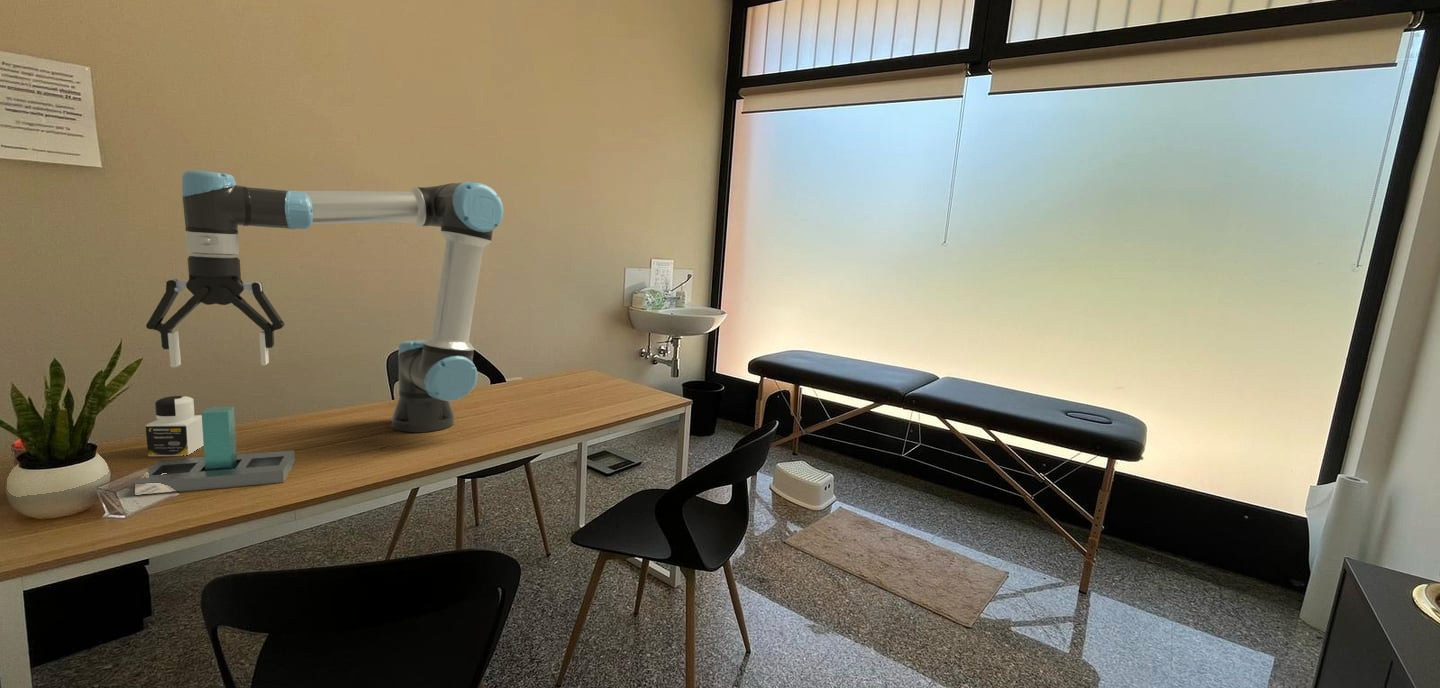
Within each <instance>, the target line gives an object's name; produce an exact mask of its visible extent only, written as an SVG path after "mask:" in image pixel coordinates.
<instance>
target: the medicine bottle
mask: <svg viewBox="0 0 1440 688" xmlns="http://www.w3.org/2000/svg"><path fill="white" fill-rule="evenodd" d="M194 402H195V401H194V398H192V397H191V396H190V397H189V396H185V395H174V396H167V397H166V396H165V397H163V398H160V399H157V400H156V401H155V405H154V406H155V417H156V420H153V421H151V422H149V423H147V424H145V434H146V437H145V438H146V448H147V456H148V457H187V456H186V455H188V456H190V455H191V453H192V454H193V453H195V452H196V450H197V449H198V450H200V449H202V448H203V447H202V446H204V443H203V428H202V414H200V415H199V414H197V415H196V414H195V404H194ZM201 447H202V448H201ZM199 448H200V449H199ZM198 450H197V451H198ZM194 451H195V452H194ZM189 454H190V455H189ZM183 455H184V456H183Z"/></svg>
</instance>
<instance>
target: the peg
mask: <svg viewBox="0 0 1440 688" xmlns="http://www.w3.org/2000/svg"><path fill="white" fill-rule="evenodd" d="M201 415H202V428H203V443H204V447H203V457H204V459H205V471H213V470H226V469H235V468H236V467H237V455H238V453H237V437H236V436H237V435H236V433H237V432H236V419H235V418H236V415H235V406H231V405H230V406H214V407H213V406H212V407H207V408H206V409H204V410H203V411H202V412H201Z"/></svg>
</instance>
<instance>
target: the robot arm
mask: <svg viewBox="0 0 1440 688" xmlns="http://www.w3.org/2000/svg"><path fill="white" fill-rule="evenodd" d="M181 178H182V181H181V184H182V186H181V187H182V189H181V190H182V194H181V197H182V208H183V215H184V216H183V217H184V226H185V232H184V233H185V240H186V252H188V254H191V255H190V256H189V255H188V257H187V267H188V268H187V271H188V279H187V280H188V281H183V280H178V279H177V278H174V279H169V280H167V281H166V283H165V292H164V294H163V296H162V298H161V299H160V301H159V303H158V305H157V306H156V308H155V310H154V311H153V313H152V315H151V316H150V318H149V320H148V321H147V323H146V325H145V326H146V329H148V330H153V331H157V332H159V333H160V339H161V340H160V342H161V348H162V350H169V352H168V353H169V363H170V368H177V367H179V366H181V365H182V362H181V361H182V360H181V350H180V349H181V348H180V338H179V336H180V335H179V331H178V330H174V328H175V327H177V326H178V324H180V323H181V322H182V321H183V319H185V318H186V317H187V316H188V315H189V314H190V313H191V312H192V311H194V309H195V308H196V307H198V306H199V305H200V304H204V305H206V306H207V305H208V306H209V305H210V306H211V305H219V306H226V305H229V304H232V305H233V306H234V307H236V308H237V309H238V310H240V311H241V312H242V313H243V314H244V315H246V316H247V317H248V318H249V319H250V320H251V321H252V322H253V323H254V324H255V325H257V326H258V327H259V328H260V329H261V330H262V331H260V332H259V335H258V336H259V349H260V350H259V351H260V352H259V353H260V365H261V366H267V364H269V363H270V361H269V360H270V357H269V349H271V348H274V346H275V336H274V335H275V331H276V330H277V331H278V330H281V329H283V328H284V327H285V325H286V324H285V322H284V321H283V319H282V317H281V316H280V315H279V314H278V312H277V310H276V309H275V308H274V305H273V304H272V302H271V301H270V300H269V298H268V297H267V296H266V294H265V293H264V287H263V284H262V282H261V281H254V282H247V283H244V282H243V280H242V275H241V260H240V259H239V257H236V256H237V255H239V254H240V242H239V230H238V229H239V226H244V227H245V226H246V227H261V228H273V229H288V230H307V229H309V228H310V227H312V226H319V225H321V226H323V225H324V226H325V225H327V226H328V225H355V224H357V225H358V224H359V225H360V224H362V225H363V224H366V225H367V224H397V223H398V224H399V223H400V224H403V223H414V224H415V225H417V226H418V227H438V228H440V233H441V235H442V237H444V239H445V249H444V254H443V261H442V266H441V267H442V268H441V273H440V279H439V284H438V285H439V286H438V293H437V297H436V306H435V312H434V319H433V325H432V329H431V330H432V331H431V335H430V337H428V338H427V339H426V340H425V339H422V340H419V339H418V340H407V341H406V340H405V341H402V342H401V343H400V344H399V346H398V353H397V356H398V358H397V359H398V400H397V402H396V404H395V407H394V411H393V413H392V417H391V428H392V429H394V430H397V431H400V432H406V433H427V432H428V433H429V432H435V431H440V430H441V431H442V430H444V429H447V428H449V427H452V426H453V425H454V424H455V413H454V410H453V406H452V404H451V402H453V401H454V402H455V401H458V400H460V399H463V398H464V397H466V396H467V395H469V394H470V393H471V392H472V391H473V389H474V388H475V386H476V384H477V382H478V376H479V375H478V370H477V367H476V366H475V364H474V361H473V358H474V352H475V347H474V346H473V345H472V343H471V342H470V336H471V335H470V334H471V331H472V330H471V329H472V325H473V324H472V323H473V316H474V310H475V304H476V303H475V302H476V297H477V293H478V292H477V290H478V285H479V278H480V271H481V266H482V259H483V253H484V248H485V247H487V246H488V245H489V244H491V243H492V239H493V238H492V237H493V232H494V230H495V229H497V227H499V226H500V225H501V222H503V221H502V220H503V218H504V211H505V210H504V205H503V202H502V199H501V197H500V196H499V194H497V192H496V191H495V189H493V187H490V186H488V185H487V184H484V183H481V182H474V181H466V182H455V183H446V184H441V185H434V186H422V187H416V186H415V187H413V188H412V189H411V190H409V191H407V190H406V191H405V190H403V191H401V190H400V191H397V190H396V191H394V190H392V191H391V190H390V191H387V190H385V191H384V190H383V191H382V190H381V191H379V190H376V191H374V190H372V191H371V190H370V191H369V190H357V191H356V190H285V189H284V190H283V189H273V188H272V189H271V188H260V187H259V188H258V187H248V186H247V187H246V186H244V185H243V186H242V185H237V182H236V180H235V177H234V176H233V175H231V174H228V173H223V172H221V173H219V172H216V171H215V172H214V171H205V170H204V171H203V170H187V171H185V172H184V173H183V174H182V176H181ZM185 288H187V290H188V291H189V292H190V293H191V294H192V297H190V298H189V299H188V300H186V301H187V302H185V304H183V305H182V306H181V307H180V308H179V309H178V310H177V311H176V312H175V313H174V314H173V315H172V316H171V317H170V318H169V319H168V320H166V322H164V323H162V322H163V321H164V319H165V318H166V315H167V313H168V312H169V311H170V309H171V307H172V306H173V303H174V301H175V300H176V299H177V296H178V295H179V293H181V292H183V291H184V289H185ZM244 290H247V292H248V293H249V294H250V295H251V294H252V295H253V297H254V299H255V300H256V301H257V303H258V304H259V306H260V308H261V309H262V311H263V312H264V313H265V315H266V316H267V318H268V319H269V320H270V322H271V323H270V322H269V321H268V320H267V319H266V318H265V317H264V316H263V315H262V314H261V313H259V311H257V310H256V309H255V308H254V307H252V306H251V305H250V304H249V303H248V302H247V301H246V299H244V298H243V297H242V296H241V294H242V293H243V292H244Z"/></svg>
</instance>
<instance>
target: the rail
mask: <svg viewBox="0 0 1440 688" xmlns="http://www.w3.org/2000/svg"><path fill="white" fill-rule="evenodd" d="M295 454H296V450H282V451H268V452H254V453H252V452H251V453H242V454H238V453H237V467H236V468H235V469H226V470H213V471H205V459H204V456H199V457H184V458H182V457H181V458H169V459H159V460H158V461H157V462H156V463H155V464H154V465H152V466H151V467H149V469H148V470H146V472H148V473H149V478H146V477H144V478H141V479H139V478H137V479H136V480H134V482H133V485H134V484H145V483H161V484H164V485H168V486H170V487H171V488H173V489H174V490H176V491H179V492H178V493H181V492H182V493H183V492H190V491H191V492H192V491H203V490H214V489H226V488H236V487H248V486H258V485H259V486H260V485H270V484H280V483H281V482H283V483H285V481H286V479H287V477H288V475H289V474H288V473H290V472H291V470H292V468H293V466H294V465H295V462H296V455H295ZM293 464H294V465H293ZM162 473H167V474H163V475H161V474H162ZM284 480H285V481H284ZM279 482H280V483H279ZM281 484H282V483H281Z"/></svg>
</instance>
